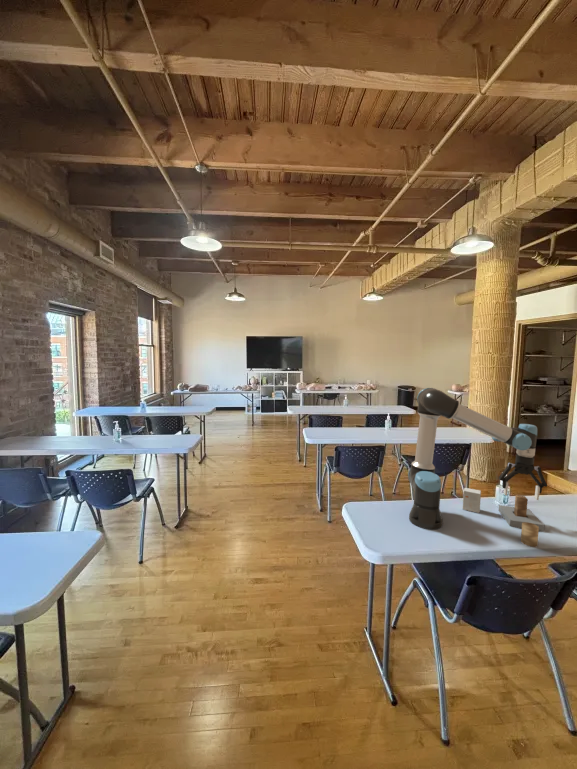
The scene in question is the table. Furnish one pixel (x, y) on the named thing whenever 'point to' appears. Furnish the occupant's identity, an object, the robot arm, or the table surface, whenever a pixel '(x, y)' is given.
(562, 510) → the table surface
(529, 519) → the socket block
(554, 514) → the table surface
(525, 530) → the light brown wooden block
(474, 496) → the small box
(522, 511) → the square peg
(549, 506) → the table surface
